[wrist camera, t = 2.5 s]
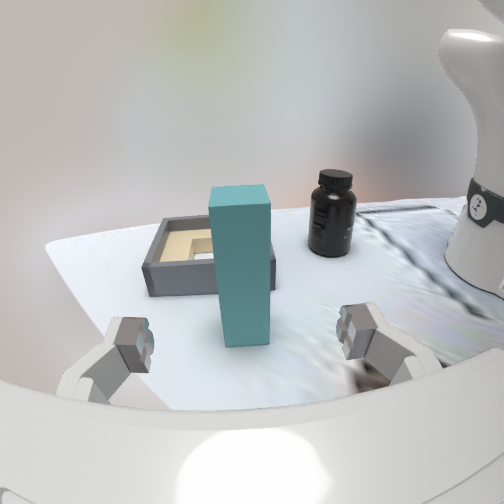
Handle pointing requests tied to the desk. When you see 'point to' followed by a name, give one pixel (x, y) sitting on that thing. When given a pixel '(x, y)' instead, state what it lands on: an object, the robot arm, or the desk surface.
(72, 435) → the robot arm
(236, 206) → the peg
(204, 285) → the open box
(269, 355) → the desk surface
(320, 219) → the supplement bottle
